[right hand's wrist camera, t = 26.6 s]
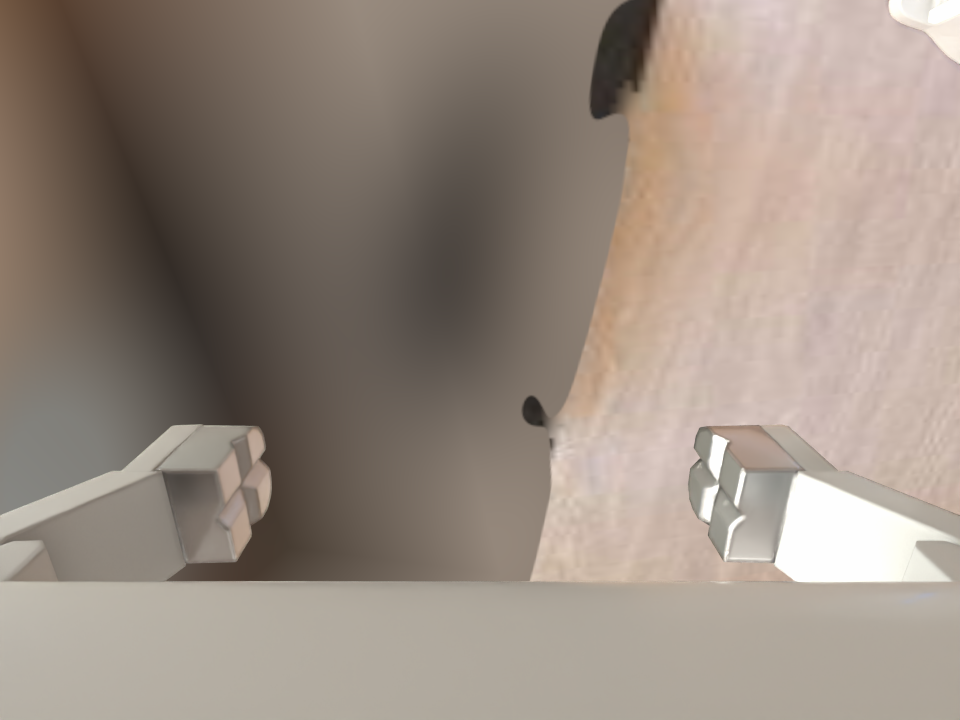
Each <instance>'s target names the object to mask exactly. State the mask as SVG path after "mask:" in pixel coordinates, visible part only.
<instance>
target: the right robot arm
mask: <svg viewBox="0 0 960 720" xmlns="http://www.w3.org/2000/svg"><path fill="white" fill-rule="evenodd" d="M889 12H890V15H891V16H892V17H893V18H894V19H895V20H896V21H898V22H899V23H901V24H904V25H906V26H909V27H912V28H915V29H918V30H921V31H924V32H925V33H926V34H927V35H928V36H929V37H930V38H931V39H932V40H933V41H934V42H935V43H936V45H937V46H938V47H939V48H940V49H941V50H942V52H943V53H944V54H945V55H946V56H948V57H949V58H950V59H951V60H953V61H954V62H956V63H957V64H959V65H960V0H889ZM265 449H266V445H265V440H264V435H263V432H262V430H261V429H260V428H259V427H258V426H213V425H206V426H204V425H178V426H172V427H170V428H169V429H168V430H167V431H166V432H165V433H164V434H163V435H161V436H160V437H159V438H158V439H157V440H156V441H155V442H154V443H152V444H151V445H150V446H149V447H148V448H147V449H146V450H145V451H144V452H142V453H141V454H140V455H139V456H138V457H137V458H136V459H134V460H133V461H132V462H131V463H130V464H129V465H128V466H127V467H125V468H124V469H123V470H122V471H111V472H109V473H106V474H104V475H101V476H99V477H96V478H94V479H91V480H89V481H86V482H84V483H81V484H79V485H76V486H73V487H71V488H68V489H66V490H63V491H61V492H58V493H56V494H53V495H51V496H48V497H46V498H43V499H41V500H38V501H35V502H33V503H30V504H28V505H25V506H23V507H20V508H18V509H15V510H13V511H10V512H8V513H5V514H3V515H0V720H960V515H957V514H955V513H952V512H950V511H947V510H945V509H942V508H940V507H937V506H934V505H932V504H929V503H927V502H924V501H922V500H919V499H917V498H914V497H912V496H909V495H907V494H904V493H902V492H899V491H897V490H894V489H892V488H889V487H886V486H884V485H881V484H879V483H876V482H874V481H871V480H869V479H866V478H864V477H861V476H859V475H856V474H854V473H851V472H849V471H838V470H837V469H836V468H835V467H833V466H832V465H831V464H830V463H829V462H828V461H827V460H826V459H825V458H823V457H822V456H821V455H820V454H819V453H818V452H817V451H816V450H814V449H813V448H812V447H811V446H810V445H809V444H808V443H807V442H805V441H804V440H803V439H802V438H801V437H800V436H799V435H798V434H797V433H795V432H794V431H793V430H792V429H791V428H790V427H788V426H785V425H762V426H759V425H745V426H706V427H701V428H699V430H698V433H697V435H696V439H695V444H694V449H695V450H696V452H697V454H698V455H699V457H700V459H699V460H698V461H697V462H696V463H695V464H694V465H693V466H692V467H691V468H690V474H689V482H688V487H689V498H690V502H691V505H692V508H693V510H694V512H695V514H696V516H697V517H698V519H700V520H701V521H703V522H705V523H706V524H708V525H709V526H710V527H709V532H708V536H709V538H710V540H711V541H712V543H713V545H714V546H715V548H716V550H717V551H718V553H719V555H720V556H721V558H722V560H723V561H724V562H748V563H775V564H774V566H776V567H777V568H778V569H780V570H781V571H782V572H784V573H785V574H786V575H788V576H789V577H791V578H792V579H793V580H795V581H166V580H167V579H168V578H170V577H171V576H172V575H174V574H175V573H176V572H178V571H179V570H180V569H182V568H183V567H184V566H186V564H185V563H211V562H236V561H237V560H238V558H239V556H240V555H241V553H242V551H243V550H244V548H245V546H246V545H247V543H248V541H249V539H250V538H251V536H252V532H251V527H250V526H251V525H252V524H254V523H255V522H257V521H259V520H260V519H262V517H263V516H264V514H265V512H266V510H267V508H268V505H269V501H270V497H271V481H272V480H271V474H270V468H269V467H268V466H267V465H266V464H265V463H264V462H263V461H262V460H261V459H260V457H261V455H262V454H263V452H264V450H265Z"/></svg>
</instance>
